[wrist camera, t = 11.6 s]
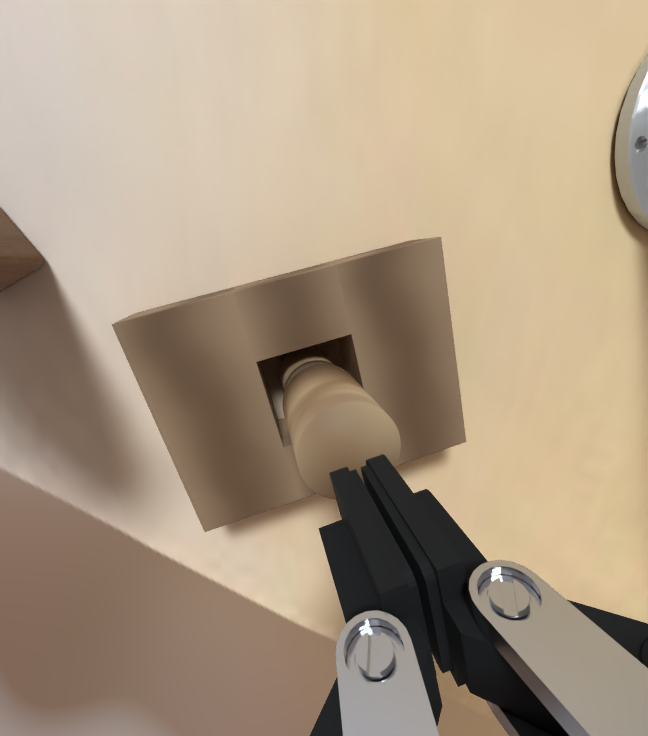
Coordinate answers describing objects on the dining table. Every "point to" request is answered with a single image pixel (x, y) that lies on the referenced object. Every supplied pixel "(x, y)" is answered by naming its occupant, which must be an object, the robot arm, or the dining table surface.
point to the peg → (332, 419)
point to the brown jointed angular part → (15, 254)
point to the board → (283, 335)
